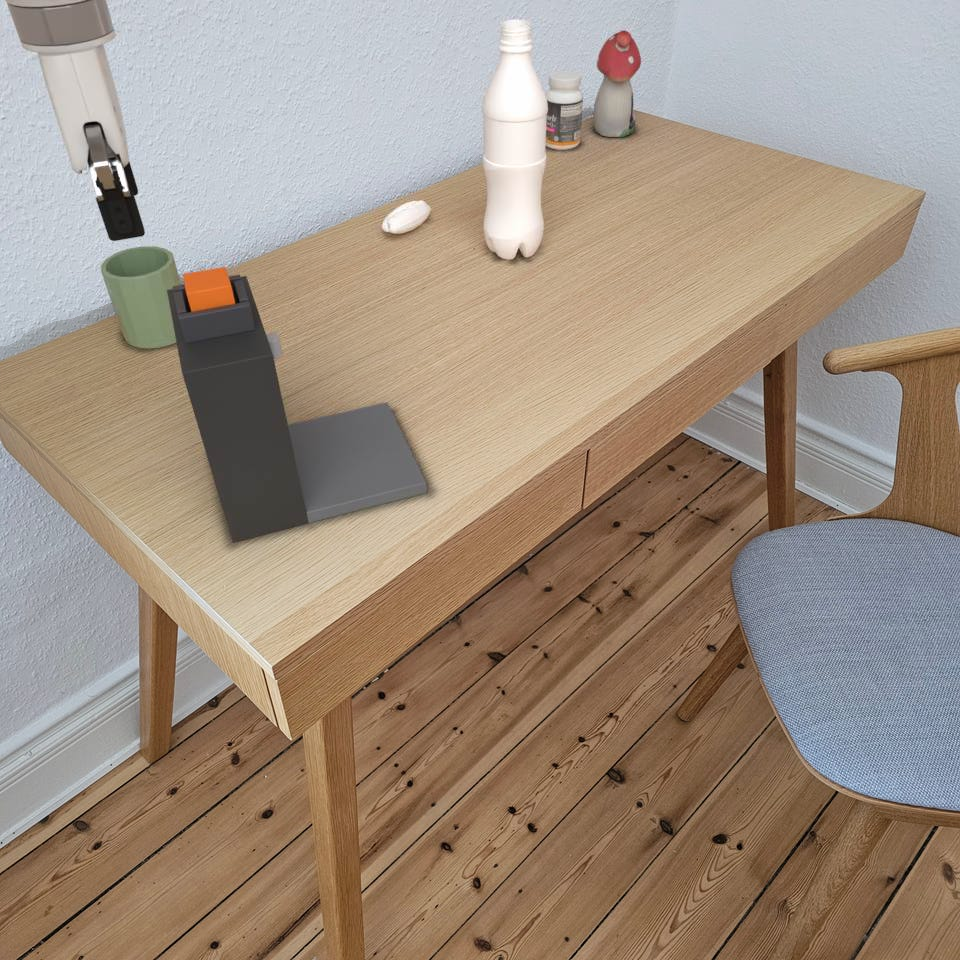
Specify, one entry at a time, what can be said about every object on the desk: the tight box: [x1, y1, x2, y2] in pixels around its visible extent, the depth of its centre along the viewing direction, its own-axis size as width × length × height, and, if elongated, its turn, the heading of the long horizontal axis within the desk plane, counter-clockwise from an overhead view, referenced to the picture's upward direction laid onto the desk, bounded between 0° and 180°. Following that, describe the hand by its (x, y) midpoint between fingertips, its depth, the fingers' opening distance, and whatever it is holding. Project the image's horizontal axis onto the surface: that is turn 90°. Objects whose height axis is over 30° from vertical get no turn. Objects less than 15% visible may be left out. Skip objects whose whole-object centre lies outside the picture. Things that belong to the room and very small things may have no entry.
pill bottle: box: [545, 69, 584, 151], centre depth 126 cm, size 6×6×10 cm
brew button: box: [182, 266, 236, 312], centre depth 59 cm, size 3×3×2 cm
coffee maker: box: [167, 273, 428, 544], centre depth 67 cm, size 16×12×18 cm
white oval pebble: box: [381, 199, 432, 235], centre depth 107 cm, size 3×8×3 cm, turn 145°
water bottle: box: [481, 19, 548, 261], centre depth 95 cm, size 7×7×25 cm
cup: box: [100, 245, 182, 350], centre depth 88 cm, size 7×7×8 cm
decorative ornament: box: [592, 29, 642, 138], centre depth 128 cm, size 9×7×15 cm
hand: (125, 216), depth 82 cm, fingers open, 9 cm apart
